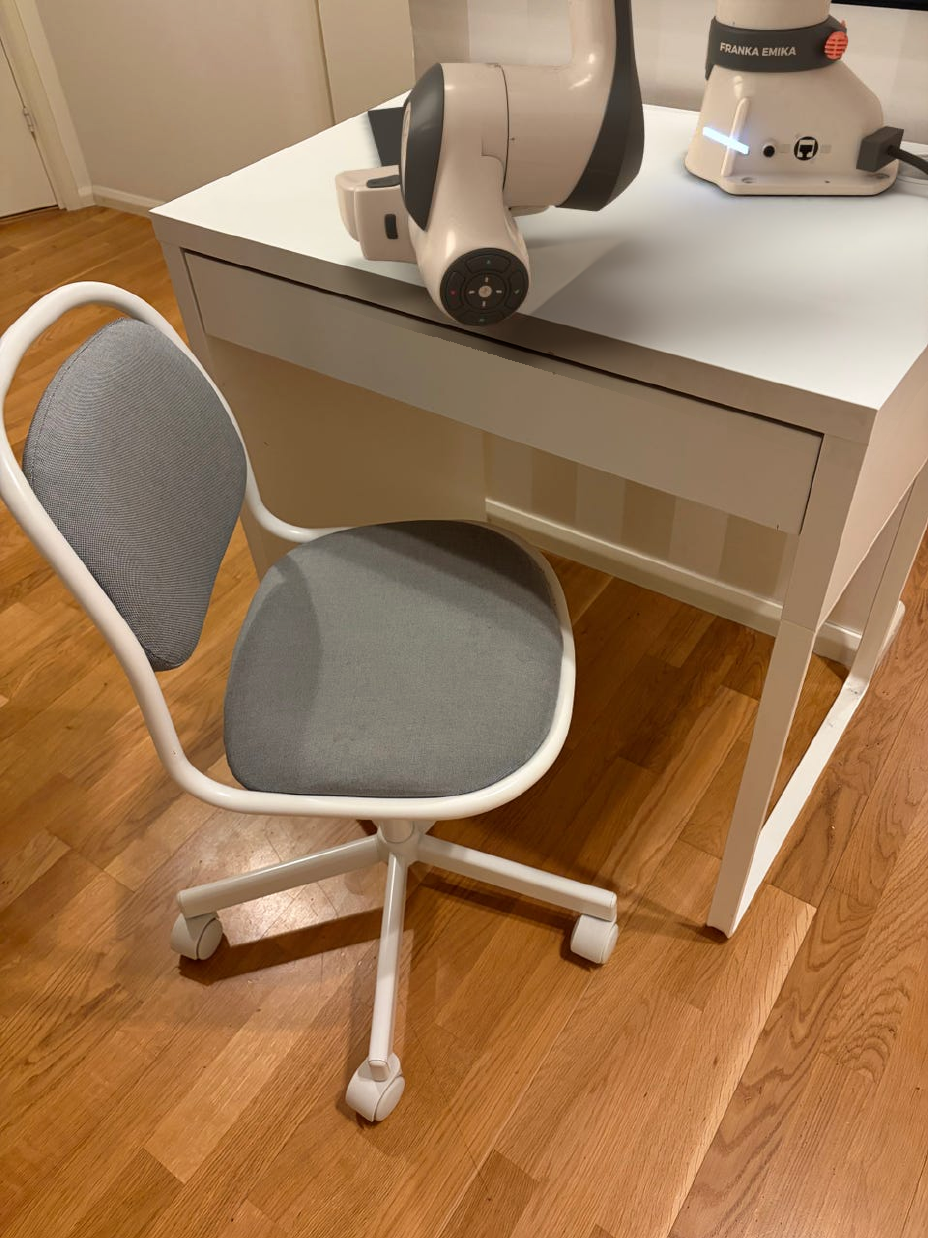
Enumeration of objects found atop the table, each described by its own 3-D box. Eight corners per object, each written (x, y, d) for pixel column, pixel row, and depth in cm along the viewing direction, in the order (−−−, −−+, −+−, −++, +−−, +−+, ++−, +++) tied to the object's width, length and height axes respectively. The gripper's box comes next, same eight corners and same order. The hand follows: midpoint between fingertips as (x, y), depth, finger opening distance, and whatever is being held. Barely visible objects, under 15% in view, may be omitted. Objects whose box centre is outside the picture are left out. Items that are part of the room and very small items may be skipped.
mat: (500, 193, 103) (500, 189, 103) (392, 206, 103) (392, 202, 102) (455, 103, 128) (455, 100, 127) (367, 113, 127) (367, 110, 127)
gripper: (570, 162, 82) (536, 114, 92) (336, 190, 81) (328, 139, 90) (569, 234, 86) (537, 181, 96) (347, 262, 85) (338, 206, 95)
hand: (434, 161), depth 93 cm, fingers closed
